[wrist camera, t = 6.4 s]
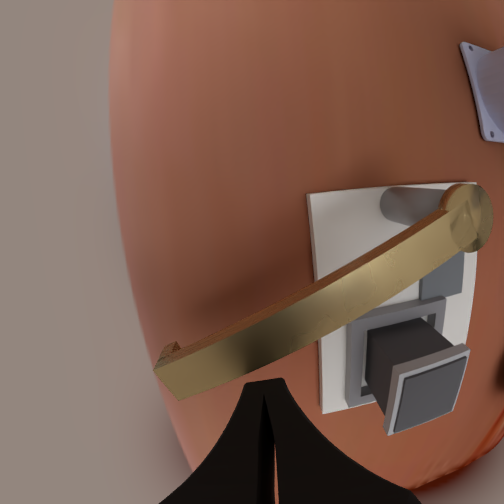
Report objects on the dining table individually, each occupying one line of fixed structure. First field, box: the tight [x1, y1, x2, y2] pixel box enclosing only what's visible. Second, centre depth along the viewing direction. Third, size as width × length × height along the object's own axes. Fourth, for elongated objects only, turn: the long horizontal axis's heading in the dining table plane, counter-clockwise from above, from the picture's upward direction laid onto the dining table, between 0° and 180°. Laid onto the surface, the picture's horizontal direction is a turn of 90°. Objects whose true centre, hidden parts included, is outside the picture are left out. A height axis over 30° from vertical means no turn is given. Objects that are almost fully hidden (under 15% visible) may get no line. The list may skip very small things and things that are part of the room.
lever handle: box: [153, 183, 493, 401], centre depth 10 cm, size 3×14×2 cm, turn 119°
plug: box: [365, 317, 470, 436], centre depth 15 cm, size 5×5×6 cm
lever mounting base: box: [306, 182, 477, 414], centre depth 14 cm, size 12×15×7 cm
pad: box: [419, 251, 465, 301], centre depth 16 cm, size 4×4×1 cm
